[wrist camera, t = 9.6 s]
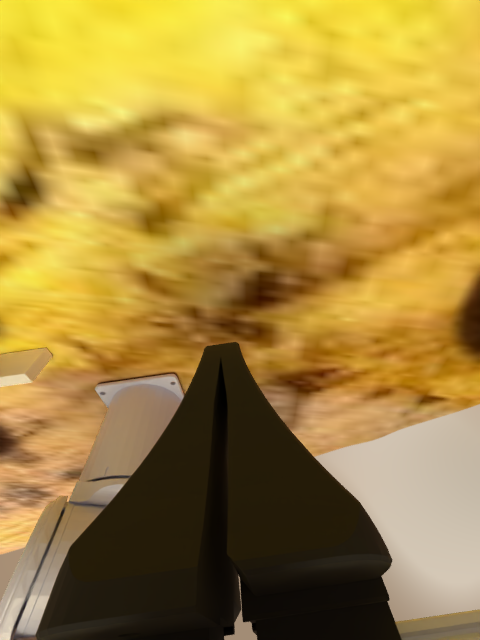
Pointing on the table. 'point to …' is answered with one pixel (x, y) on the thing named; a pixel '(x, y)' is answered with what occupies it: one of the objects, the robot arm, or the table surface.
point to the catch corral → (22, 366)
